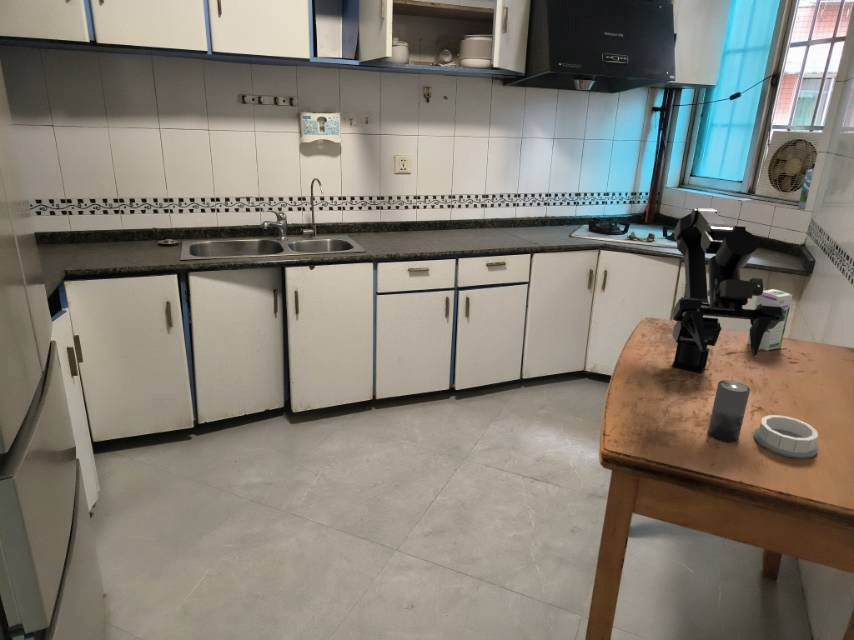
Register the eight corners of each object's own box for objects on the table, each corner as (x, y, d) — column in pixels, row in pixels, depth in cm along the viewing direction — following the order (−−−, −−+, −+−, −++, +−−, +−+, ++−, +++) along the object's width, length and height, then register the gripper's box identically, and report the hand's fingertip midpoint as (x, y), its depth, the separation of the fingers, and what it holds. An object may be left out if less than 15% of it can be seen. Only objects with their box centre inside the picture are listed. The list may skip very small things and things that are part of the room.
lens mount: (752, 447, 106) (756, 431, 105) (755, 424, 114) (758, 408, 113) (818, 464, 101) (822, 448, 100) (815, 438, 109) (820, 423, 108)
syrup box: (767, 351, 150) (780, 296, 145) (745, 343, 155) (757, 290, 150) (781, 347, 152) (794, 294, 147) (759, 340, 157) (772, 287, 152)
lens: (706, 437, 109) (716, 387, 105) (709, 425, 113) (719, 377, 110) (737, 445, 106) (749, 395, 103) (739, 432, 111) (750, 384, 107)
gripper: (686, 257, 113) (688, 331, 107) (792, 264, 110) (801, 341, 103) (671, 285, 123) (672, 354, 117) (768, 292, 120) (775, 364, 113)
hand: (728, 353), depth 112 cm, fingers open, 9 cm apart
